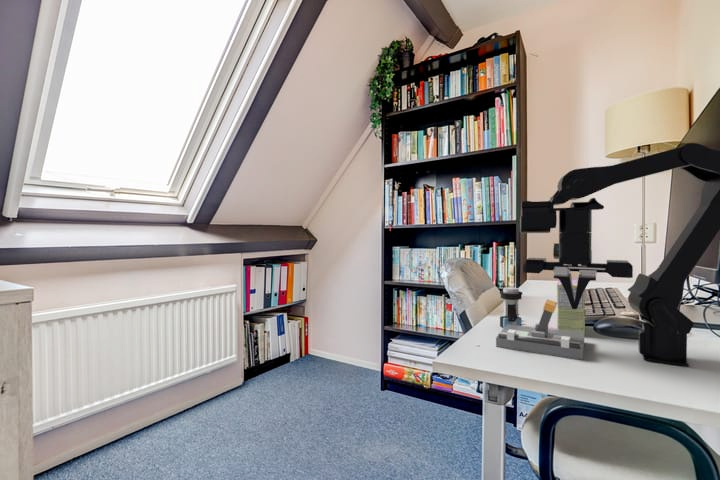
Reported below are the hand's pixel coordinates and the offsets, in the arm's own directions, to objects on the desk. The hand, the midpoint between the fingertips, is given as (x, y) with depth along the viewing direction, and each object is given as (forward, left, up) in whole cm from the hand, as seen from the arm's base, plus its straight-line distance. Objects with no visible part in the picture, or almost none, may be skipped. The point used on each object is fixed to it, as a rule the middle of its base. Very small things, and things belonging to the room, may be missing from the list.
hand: (574, 309), depth 75 cm
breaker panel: (+6, -1, -9) cm, 11 cm away
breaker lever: (+6, 0, -6) cm, 9 cm away
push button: (+14, -13, -9) cm, 21 cm away
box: (+1, -17, -9) cm, 19 cm away
